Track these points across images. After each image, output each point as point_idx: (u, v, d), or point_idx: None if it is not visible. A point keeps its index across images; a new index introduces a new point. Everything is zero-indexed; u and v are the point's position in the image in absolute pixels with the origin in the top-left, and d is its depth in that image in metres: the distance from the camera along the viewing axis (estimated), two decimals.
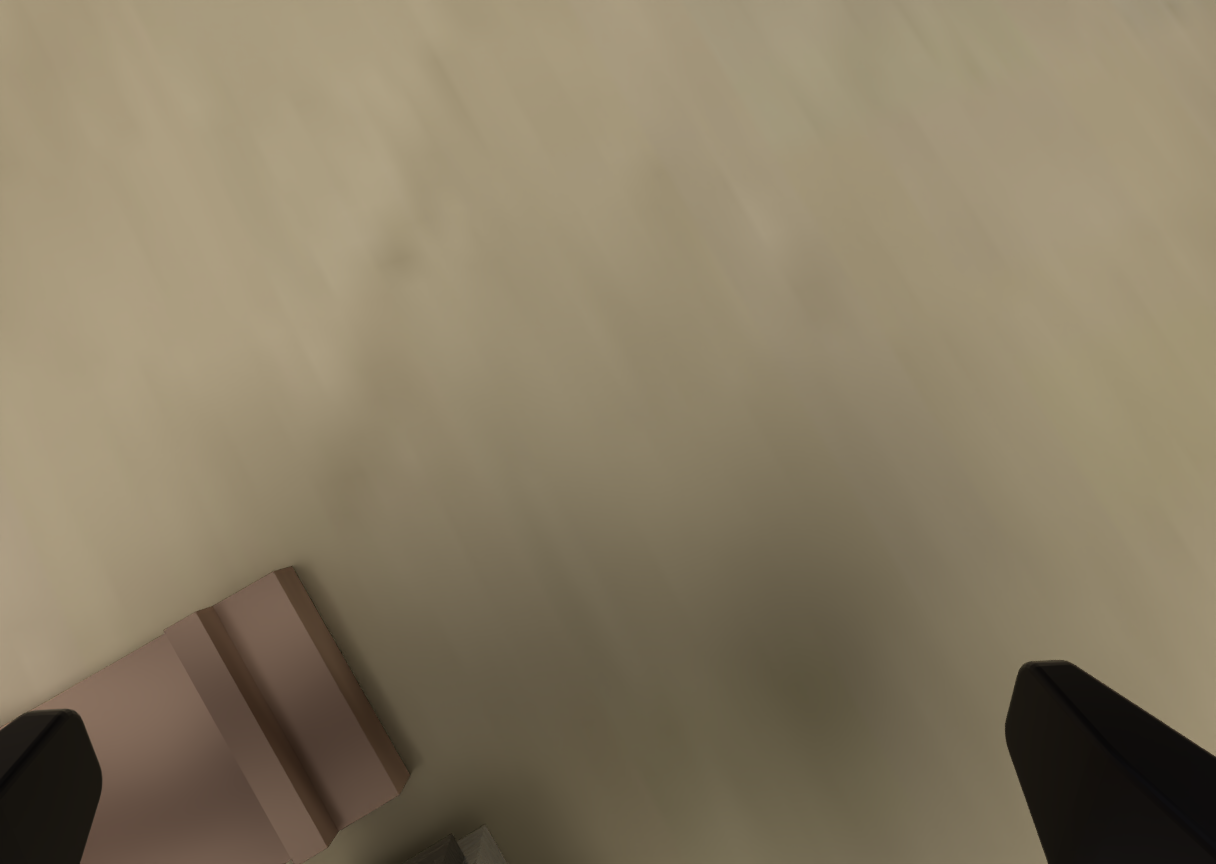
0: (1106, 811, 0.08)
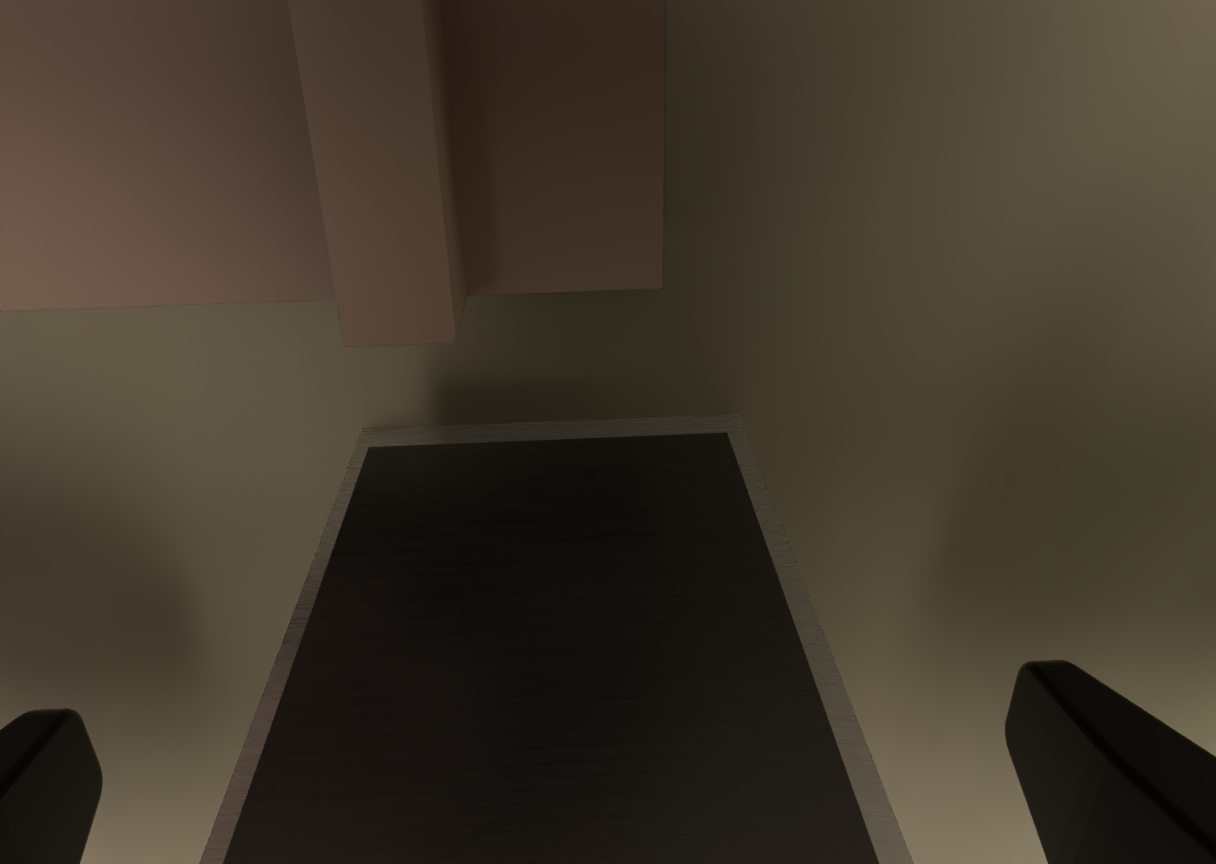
0: (1106, 811, 0.08)
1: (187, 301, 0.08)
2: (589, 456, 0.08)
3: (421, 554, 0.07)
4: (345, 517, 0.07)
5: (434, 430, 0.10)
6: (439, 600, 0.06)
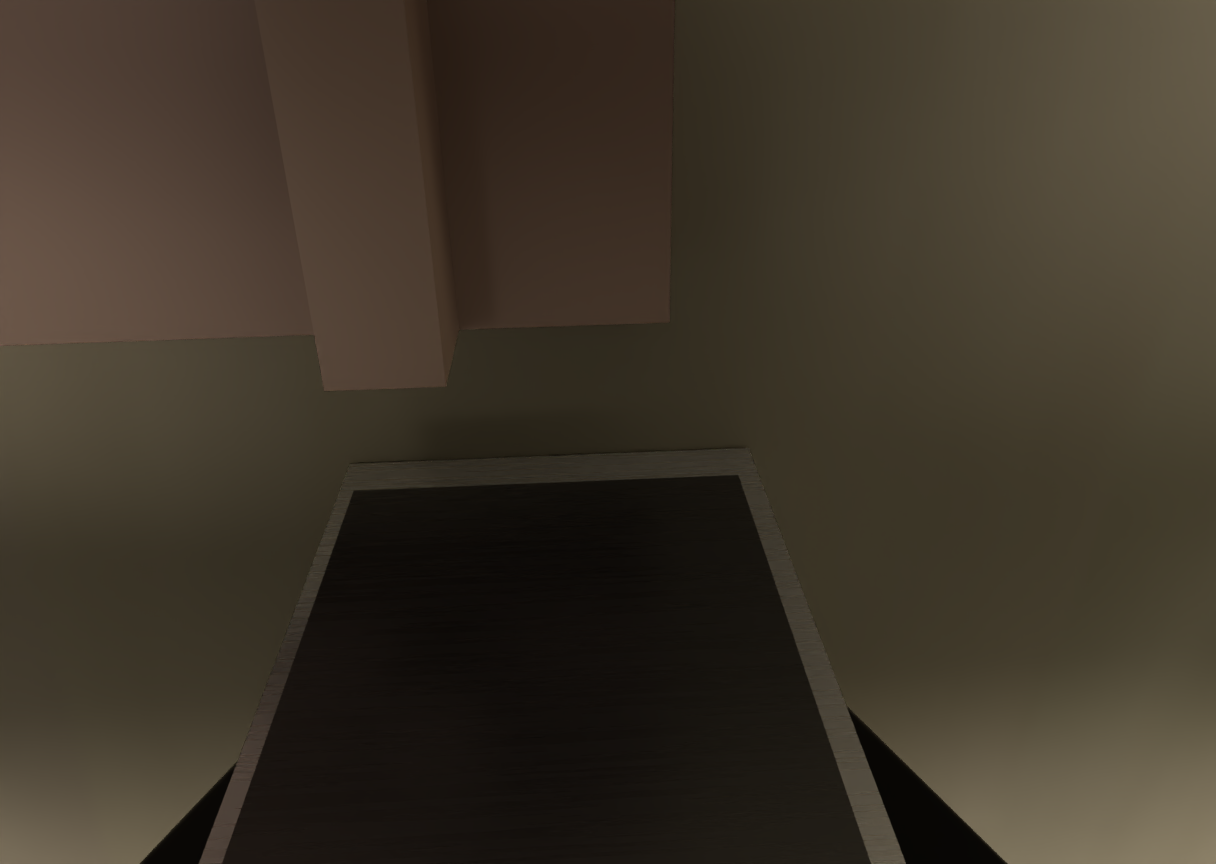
0: None
1: (157, 336, 0.07)
2: (590, 502, 0.07)
3: (407, 618, 0.06)
4: (326, 573, 0.07)
5: (426, 464, 0.09)
6: (426, 673, 0.06)
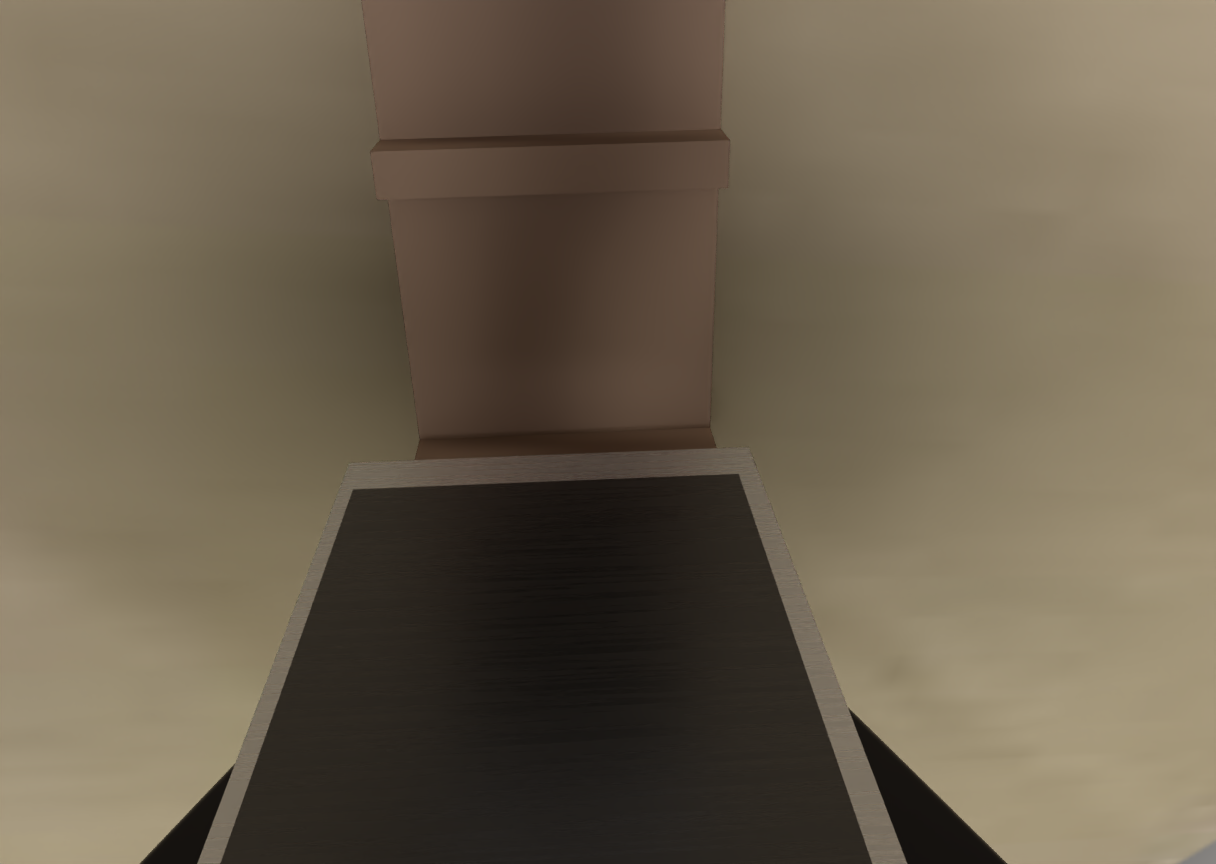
0: None
1: (411, 373, 0.19)
2: (590, 501, 0.07)
3: (406, 617, 0.06)
4: (325, 572, 0.07)
5: (426, 464, 0.09)
6: (425, 672, 0.06)
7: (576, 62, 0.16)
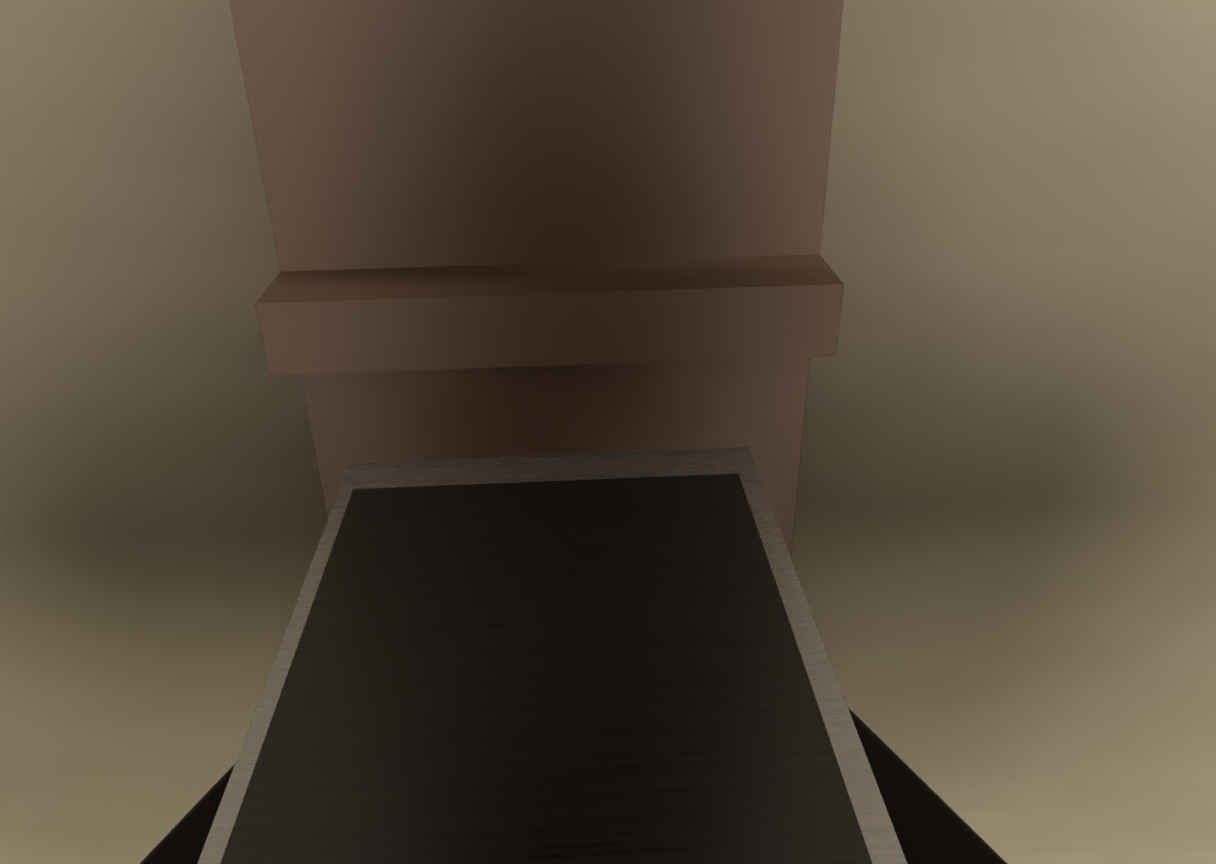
0: None
1: None
2: (590, 501, 0.07)
3: (406, 616, 0.06)
4: (325, 571, 0.07)
5: (426, 463, 0.09)
6: (427, 671, 0.06)
7: (593, 154, 0.10)
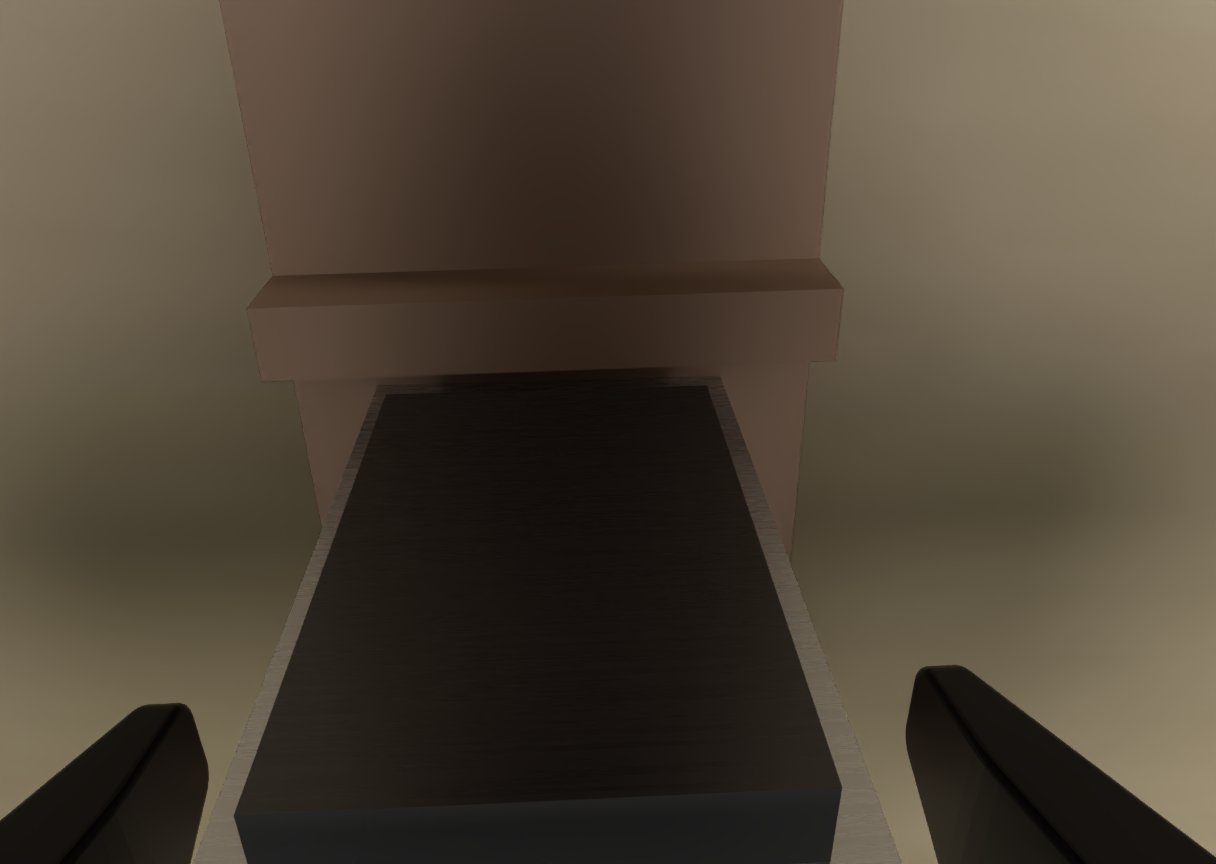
0: (985, 818, 0.08)
1: None
2: (583, 403, 0.09)
3: (434, 479, 0.08)
4: (366, 450, 0.08)
5: (444, 387, 0.11)
6: (451, 514, 0.07)
7: (590, 156, 0.10)
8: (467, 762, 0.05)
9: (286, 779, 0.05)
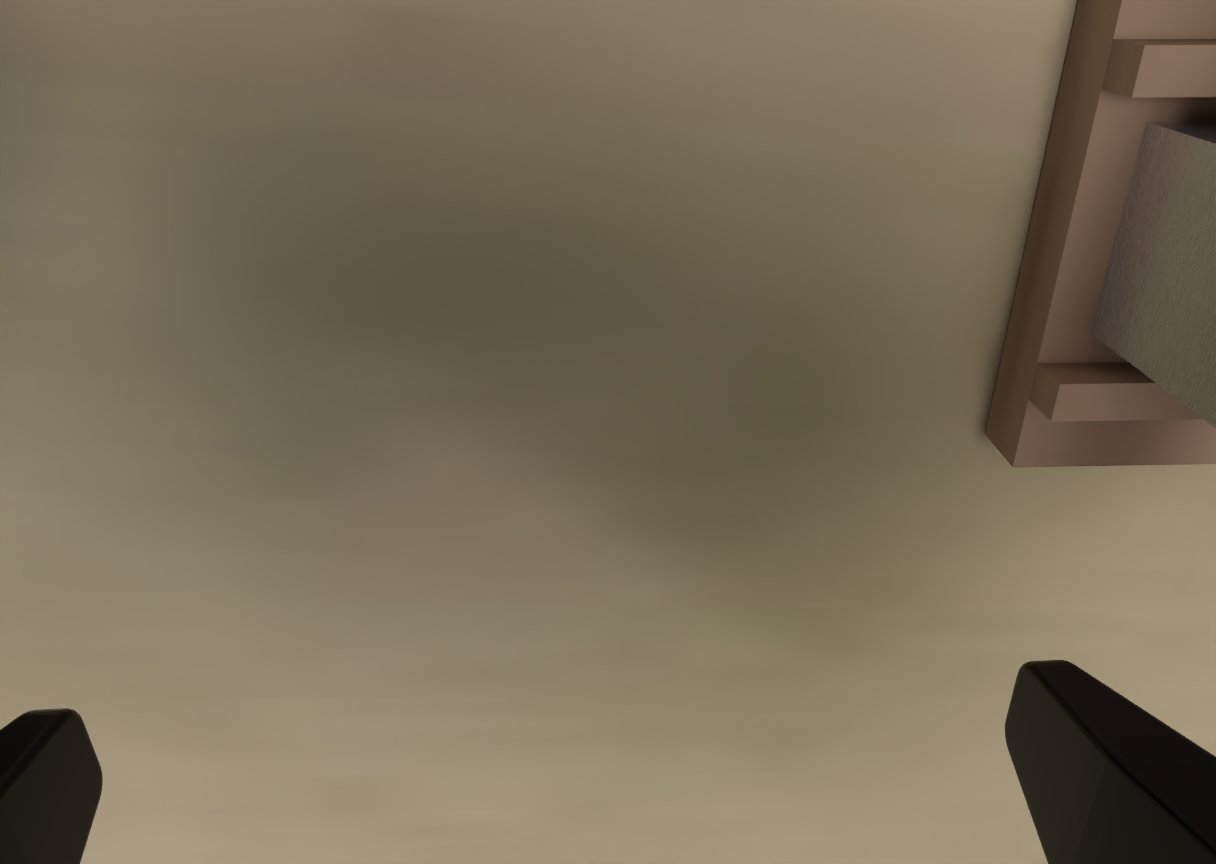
0: (1106, 811, 0.08)
1: (1051, 291, 0.18)
2: None
3: None
4: None
5: (1187, 125, 0.17)
6: None
7: None
8: None
9: None
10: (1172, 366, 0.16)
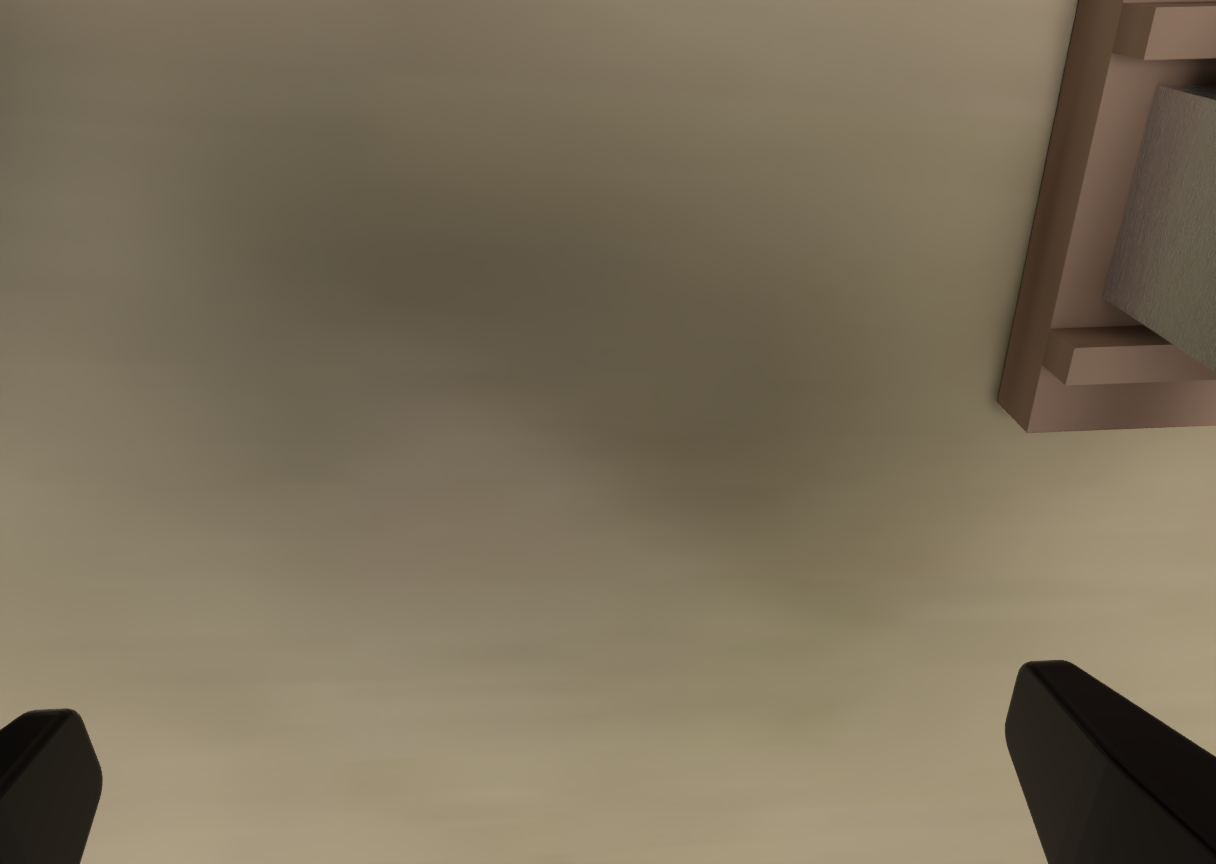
0: (1106, 811, 0.08)
1: (1063, 257, 0.18)
2: None
3: None
4: None
5: None
6: None
7: None
8: None
9: None
10: (1187, 325, 0.16)
